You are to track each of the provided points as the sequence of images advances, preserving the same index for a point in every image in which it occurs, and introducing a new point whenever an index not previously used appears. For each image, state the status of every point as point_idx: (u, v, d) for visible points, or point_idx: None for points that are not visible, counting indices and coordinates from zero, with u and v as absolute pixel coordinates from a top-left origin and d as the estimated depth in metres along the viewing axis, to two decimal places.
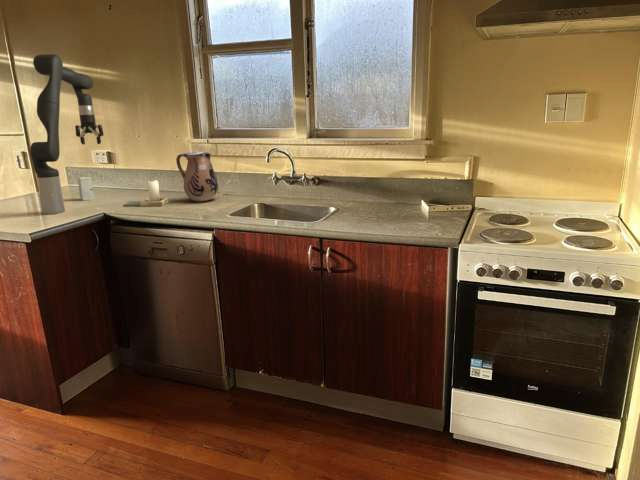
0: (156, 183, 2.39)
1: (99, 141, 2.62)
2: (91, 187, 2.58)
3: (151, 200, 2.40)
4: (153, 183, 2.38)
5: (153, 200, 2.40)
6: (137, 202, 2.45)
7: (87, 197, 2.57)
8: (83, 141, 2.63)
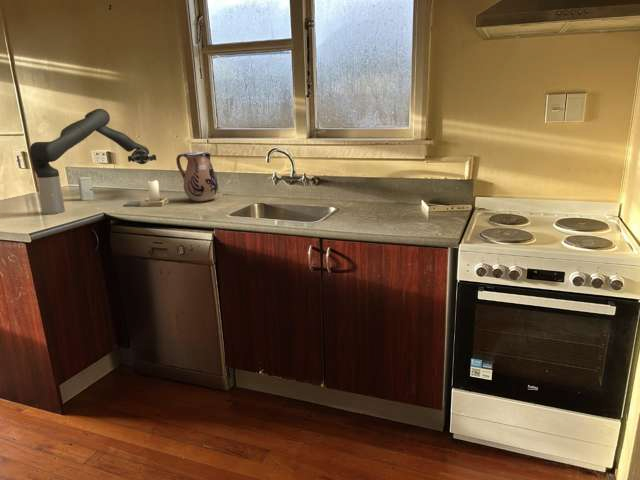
0: (156, 183, 2.39)
1: (152, 157, 2.52)
2: (91, 187, 2.58)
3: (151, 200, 2.40)
4: (153, 183, 2.38)
5: (153, 200, 2.40)
6: (137, 202, 2.45)
7: (87, 197, 2.57)
8: None
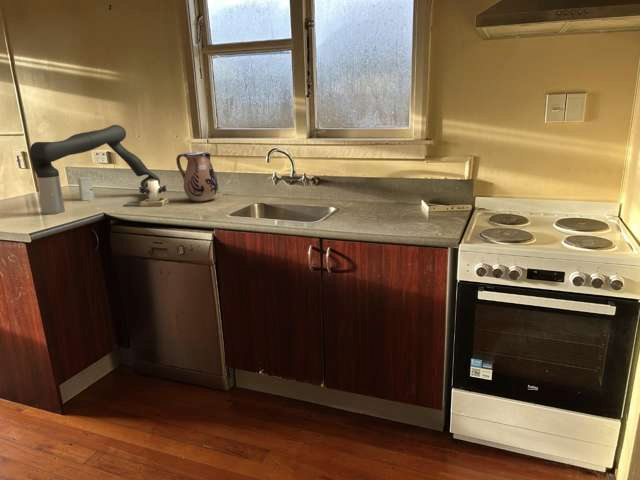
0: (156, 183, 2.39)
1: (161, 189, 2.42)
2: (91, 187, 2.58)
3: (151, 200, 2.40)
4: (153, 183, 2.38)
5: (153, 200, 2.40)
6: (137, 202, 2.45)
7: (87, 197, 2.57)
8: (148, 190, 2.40)
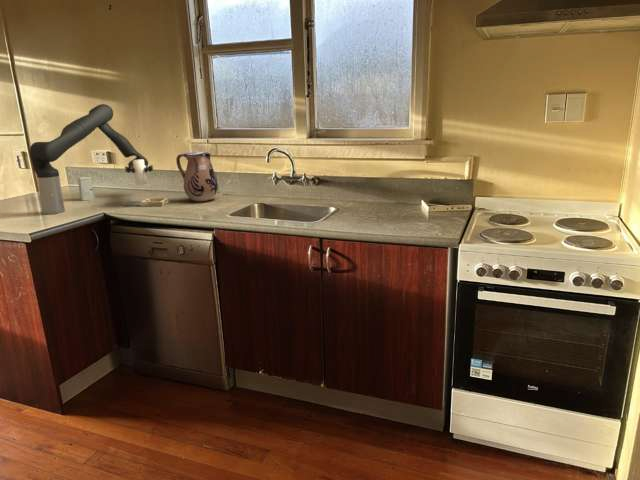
0: (142, 162, 2.36)
1: (147, 168, 2.38)
2: (91, 187, 2.58)
3: (137, 179, 2.37)
4: (139, 162, 2.35)
5: (139, 179, 2.37)
6: (137, 202, 2.45)
7: (87, 197, 2.57)
8: None
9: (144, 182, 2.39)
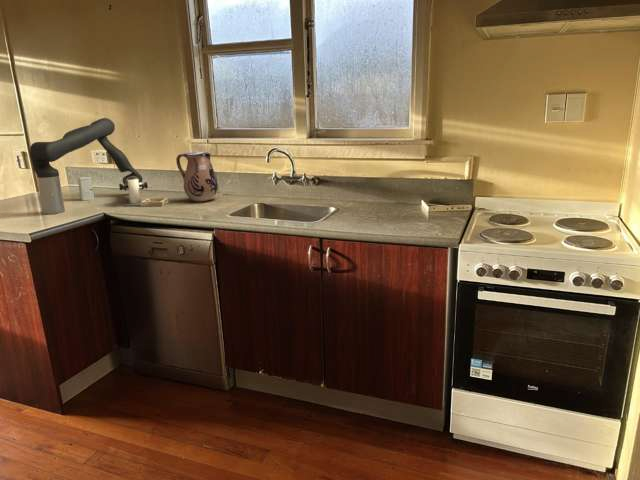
0: (136, 182, 2.39)
1: (143, 185, 2.42)
2: (91, 187, 2.58)
3: (131, 199, 2.40)
4: (133, 182, 2.38)
5: (133, 199, 2.40)
6: None
7: (87, 197, 2.57)
8: (126, 187, 2.39)
9: (139, 201, 2.42)
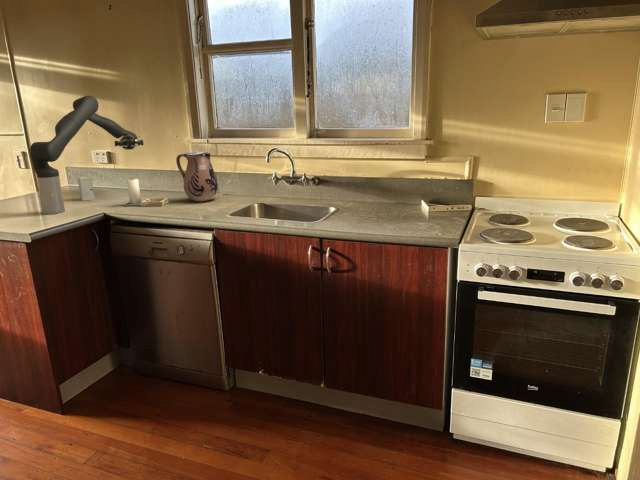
0: (136, 182, 2.39)
1: (139, 141, 2.49)
2: (91, 187, 2.58)
3: (131, 199, 2.40)
4: (133, 182, 2.38)
5: (133, 199, 2.40)
6: None
7: (87, 197, 2.57)
8: (121, 143, 2.46)
9: (139, 201, 2.42)
